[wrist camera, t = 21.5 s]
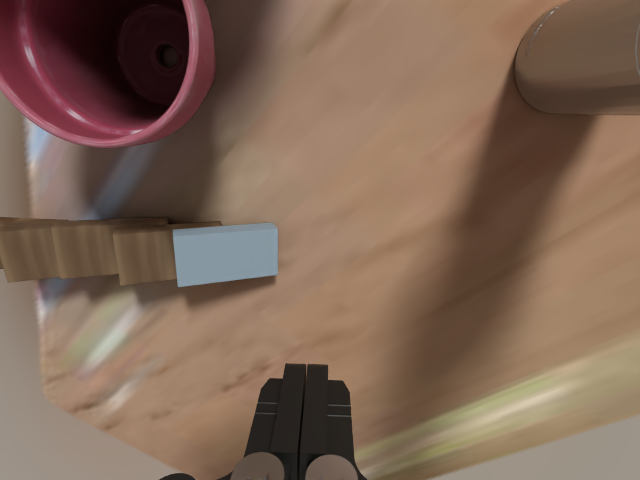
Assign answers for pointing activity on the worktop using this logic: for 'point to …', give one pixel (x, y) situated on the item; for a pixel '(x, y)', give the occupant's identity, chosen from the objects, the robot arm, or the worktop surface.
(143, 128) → the plant pot
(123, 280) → the domino
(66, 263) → the domino
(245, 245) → the domino
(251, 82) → the worktop surface
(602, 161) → the worktop surface
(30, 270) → the domino
